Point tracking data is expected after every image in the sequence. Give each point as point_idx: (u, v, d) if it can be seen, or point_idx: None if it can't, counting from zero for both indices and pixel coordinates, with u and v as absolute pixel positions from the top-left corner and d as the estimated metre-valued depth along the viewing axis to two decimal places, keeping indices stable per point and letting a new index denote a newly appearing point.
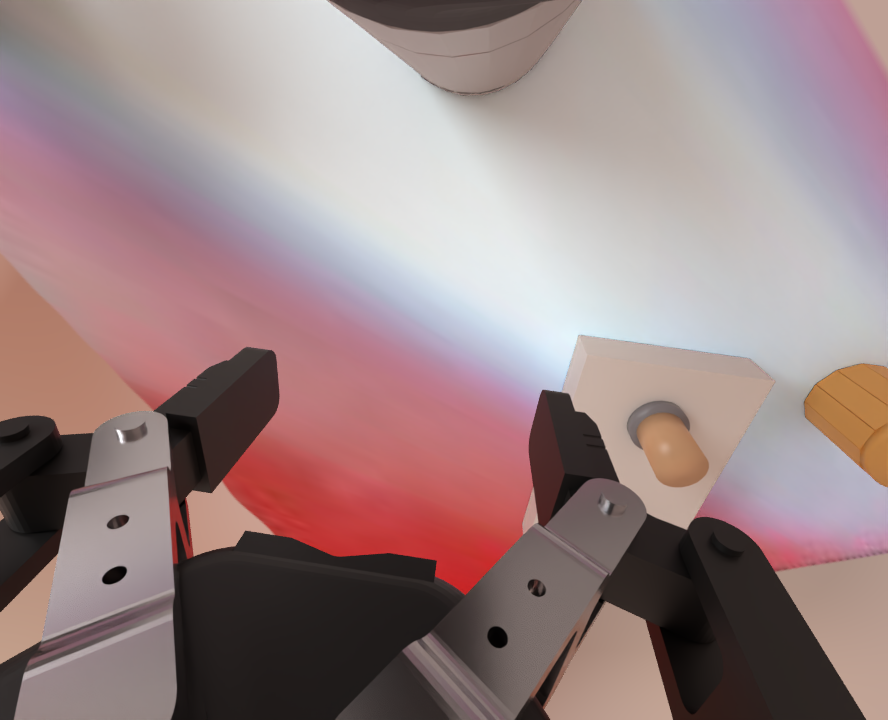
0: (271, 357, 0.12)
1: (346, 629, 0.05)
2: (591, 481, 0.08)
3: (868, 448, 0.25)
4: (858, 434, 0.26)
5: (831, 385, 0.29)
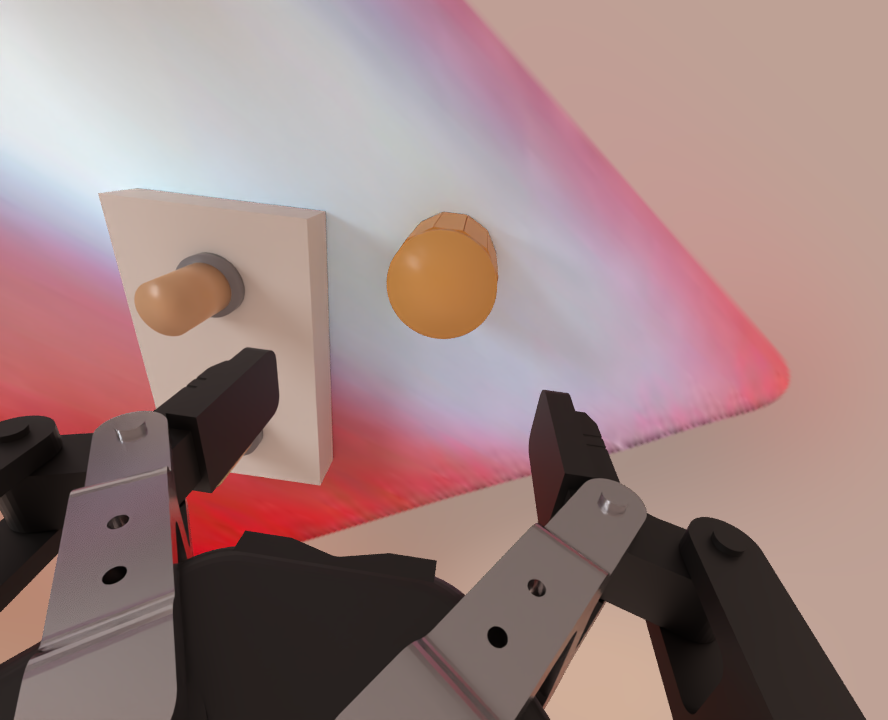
0: (271, 357, 0.12)
1: (346, 629, 0.05)
2: (591, 481, 0.08)
3: None
4: None
5: None
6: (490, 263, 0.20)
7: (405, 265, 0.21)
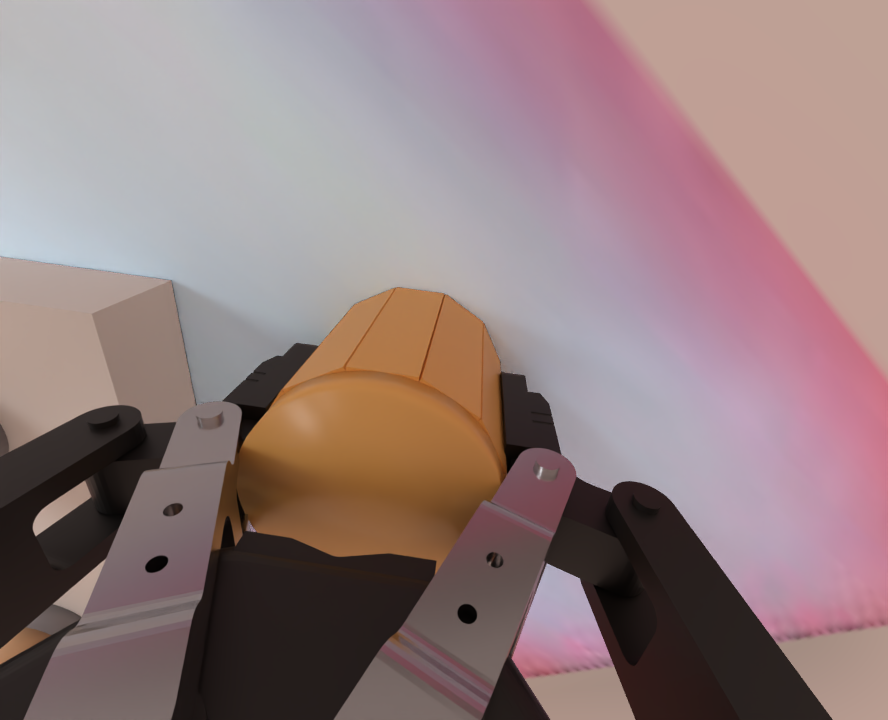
0: None
1: (346, 629, 0.05)
2: (529, 450, 0.09)
3: None
4: None
5: None
6: (488, 464, 0.08)
7: (275, 459, 0.08)
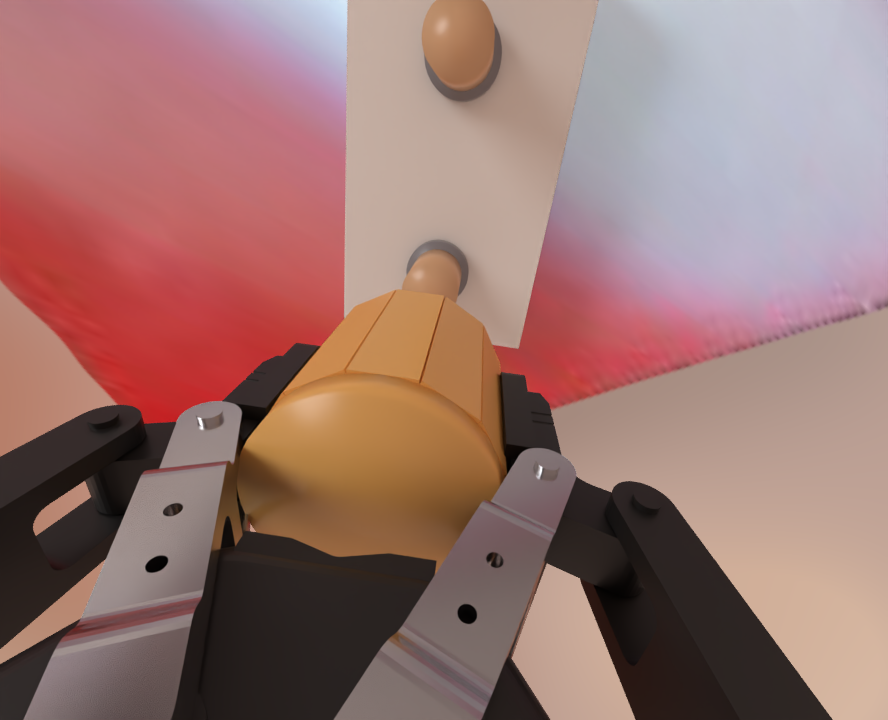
0: None
1: (346, 629, 0.05)
2: (529, 450, 0.09)
3: None
4: None
5: None
6: (488, 467, 0.08)
7: (276, 461, 0.08)
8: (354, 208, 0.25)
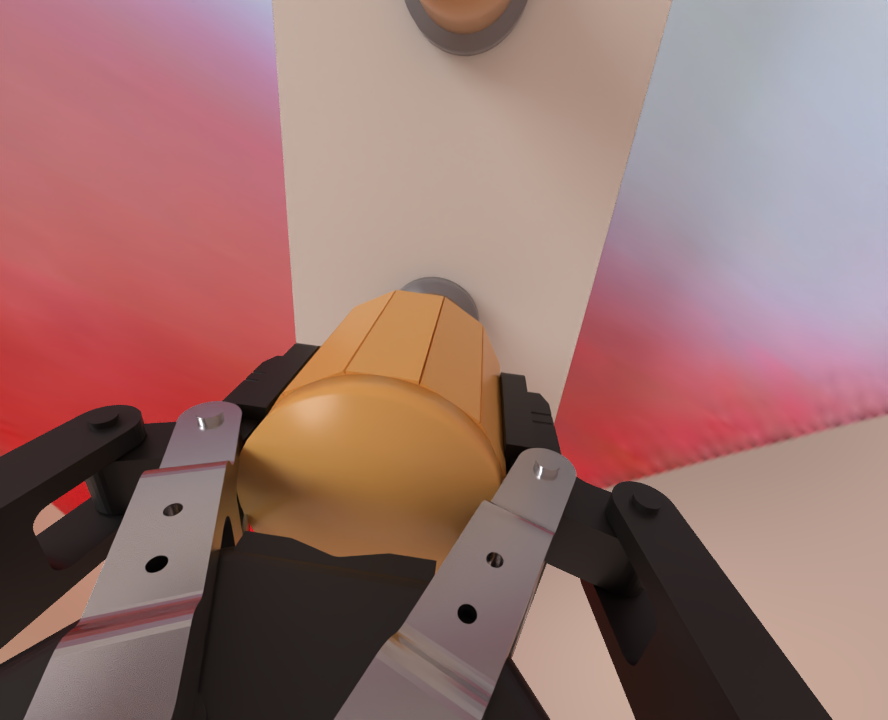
0: None
1: (346, 629, 0.05)
2: (529, 450, 0.09)
3: None
4: None
5: None
6: (488, 468, 0.08)
7: (275, 462, 0.08)
8: (302, 231, 0.16)
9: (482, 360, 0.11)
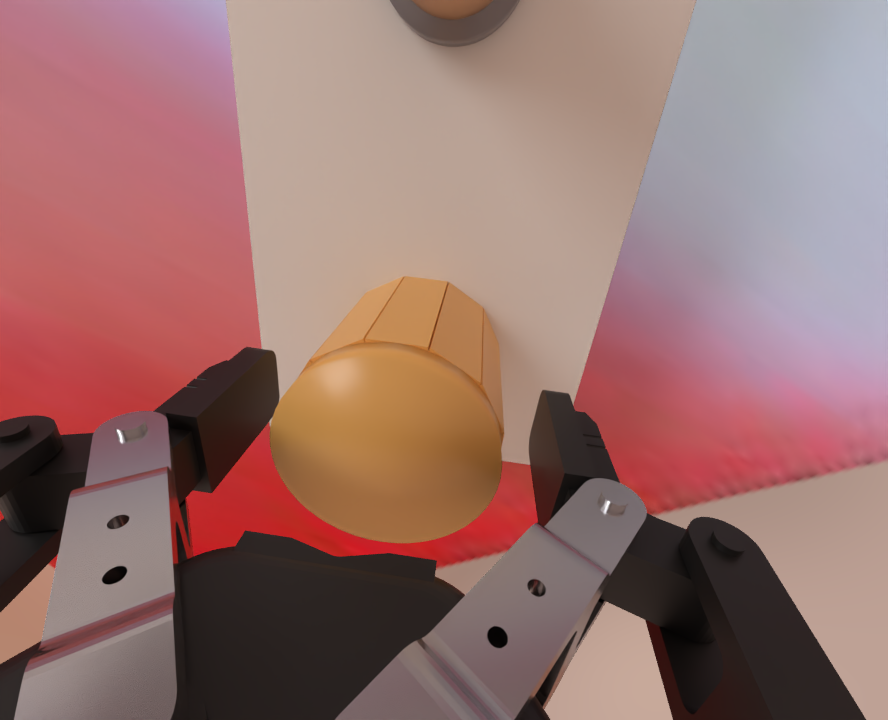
0: (271, 357, 0.12)
1: (346, 629, 0.05)
2: (591, 481, 0.08)
3: None
4: None
5: None
6: (488, 421, 0.09)
7: (305, 419, 0.10)
8: (267, 249, 0.14)
9: (483, 336, 0.12)
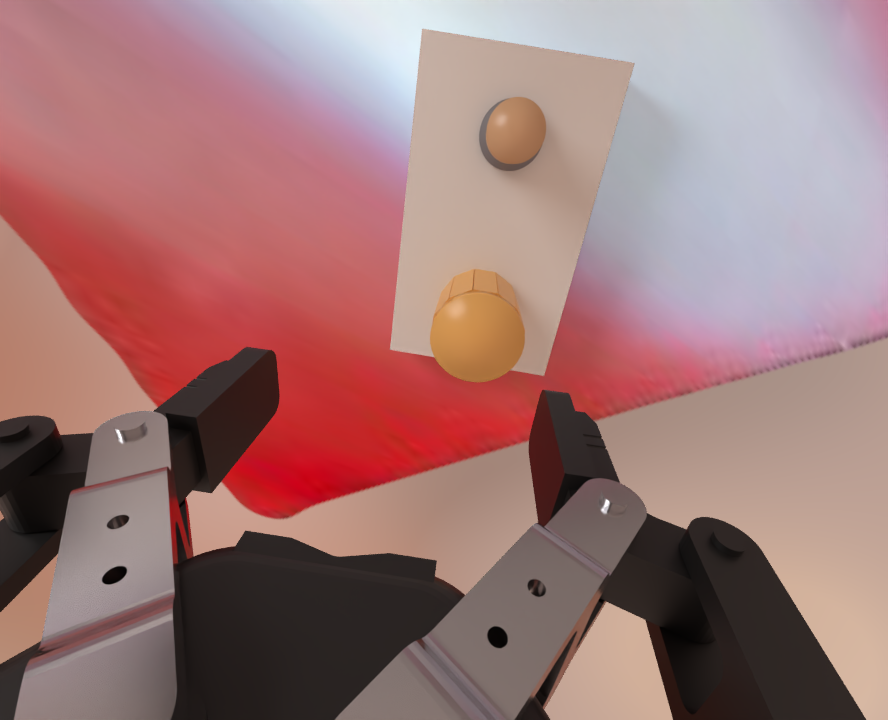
0: (271, 357, 0.12)
1: (346, 629, 0.05)
2: (591, 481, 0.08)
3: None
4: None
5: (444, 289, 0.29)
6: (520, 322, 0.24)
7: (447, 320, 0.24)
8: (407, 253, 0.29)
9: (514, 295, 0.27)
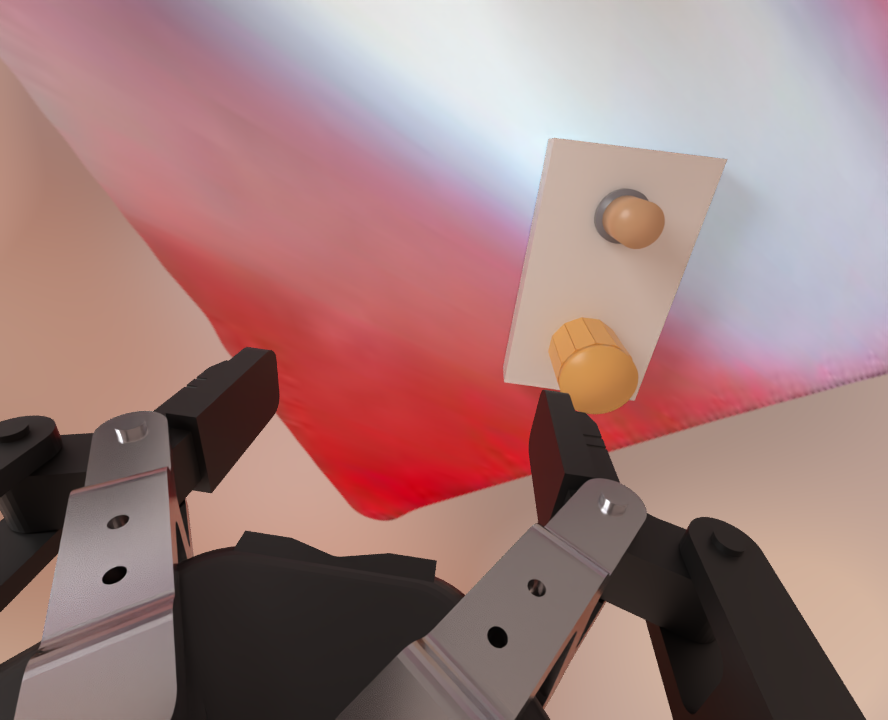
0: (271, 357, 0.12)
1: (346, 629, 0.05)
2: (591, 481, 0.08)
3: (559, 379, 0.31)
4: (557, 369, 0.32)
5: (557, 335, 0.35)
6: (635, 368, 0.30)
7: (576, 368, 0.30)
8: (526, 306, 0.35)
9: (620, 341, 0.33)
